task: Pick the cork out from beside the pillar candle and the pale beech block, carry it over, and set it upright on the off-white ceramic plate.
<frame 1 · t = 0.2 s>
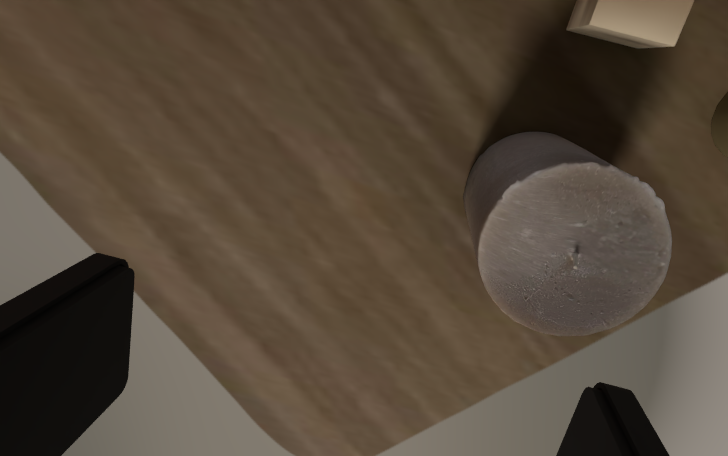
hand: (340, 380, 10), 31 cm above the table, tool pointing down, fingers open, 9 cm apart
beech block: (616, 0, 35), on the table
pillar candle: (529, 191, 40), on the table
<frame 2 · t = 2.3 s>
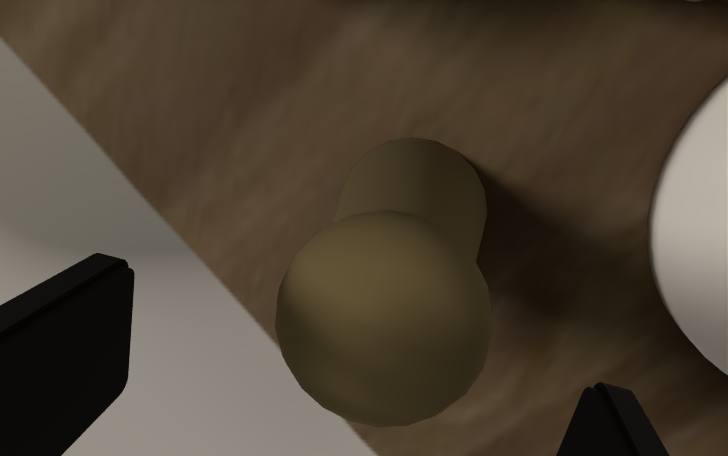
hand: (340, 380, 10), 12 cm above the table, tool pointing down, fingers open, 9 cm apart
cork: (412, 209, 21), on the table
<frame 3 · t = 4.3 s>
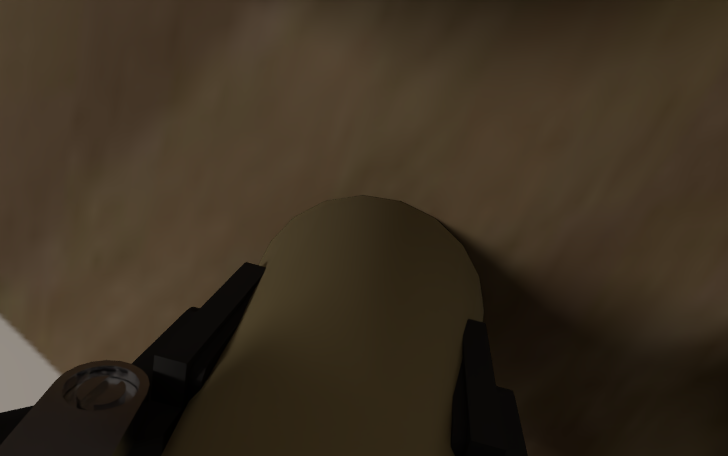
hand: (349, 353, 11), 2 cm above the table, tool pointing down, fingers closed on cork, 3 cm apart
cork: (367, 303, 14), on the table, touching gripper
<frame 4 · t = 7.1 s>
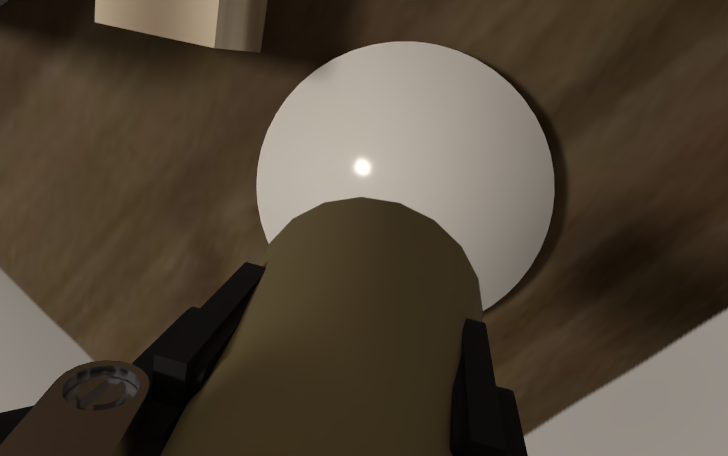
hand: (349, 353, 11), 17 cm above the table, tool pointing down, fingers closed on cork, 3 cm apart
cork: (366, 305, 14), point 14 cm above the table, touching gripper
plate: (401, 193, 27), on the table
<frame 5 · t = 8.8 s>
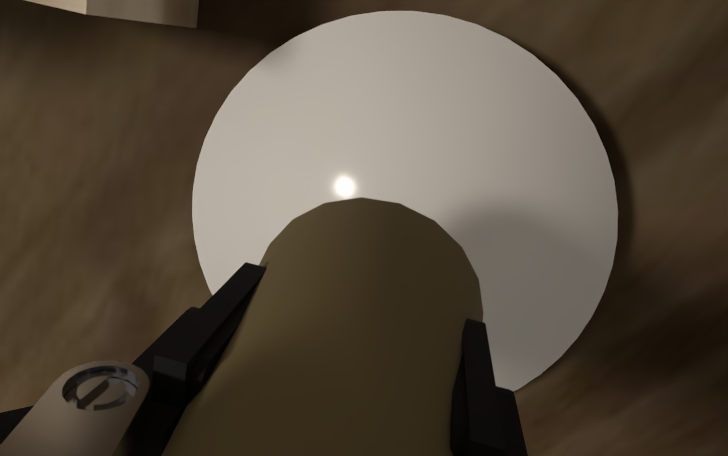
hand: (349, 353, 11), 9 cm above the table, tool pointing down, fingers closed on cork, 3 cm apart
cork: (366, 305, 14), point 6 cm above the table, touching gripper
plate: (395, 228, 19), on the table
when the fingers open (5 cm above the table, at t = 10.3 s): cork drops 1 cm, resting on plate.
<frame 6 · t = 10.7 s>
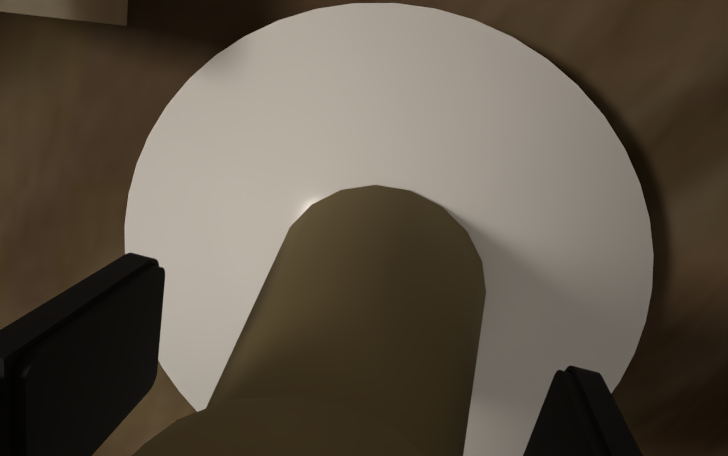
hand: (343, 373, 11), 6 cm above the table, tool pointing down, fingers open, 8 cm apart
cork: (378, 285, 15), point 1 cm above the table, touching plate
plate: (375, 271, 16), on the table
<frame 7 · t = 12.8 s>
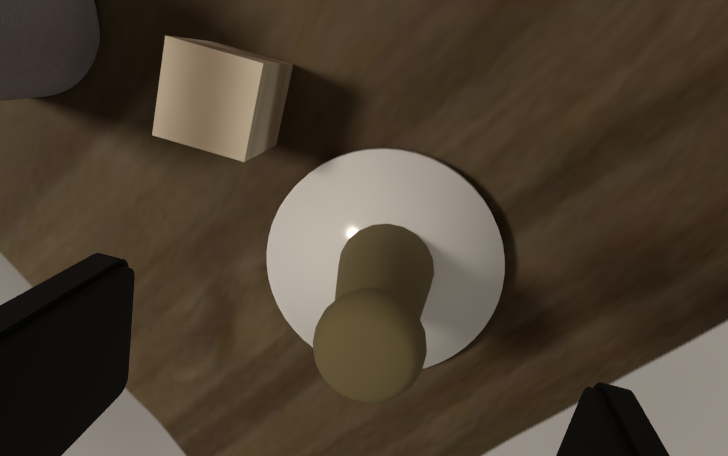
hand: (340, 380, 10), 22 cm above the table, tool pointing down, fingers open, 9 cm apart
beech block: (245, 94, 32), on the table
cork: (386, 268, 33), point 1 cm above the table, touching plate
pillar candle: (32, 17, 32), on the table
plate: (384, 262, 34), on the table
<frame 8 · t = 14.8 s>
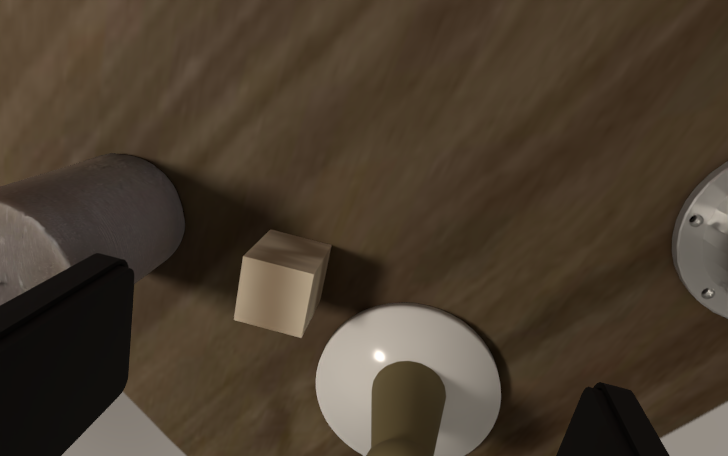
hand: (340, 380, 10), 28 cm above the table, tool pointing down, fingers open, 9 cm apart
beech block: (295, 265, 41), on the table
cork: (408, 391, 42), point 1 cm above the table, touching plate
pillar candle: (133, 212, 42), on the table
plate: (406, 384, 43), on the table
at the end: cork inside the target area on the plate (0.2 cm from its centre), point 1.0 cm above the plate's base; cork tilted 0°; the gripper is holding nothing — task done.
